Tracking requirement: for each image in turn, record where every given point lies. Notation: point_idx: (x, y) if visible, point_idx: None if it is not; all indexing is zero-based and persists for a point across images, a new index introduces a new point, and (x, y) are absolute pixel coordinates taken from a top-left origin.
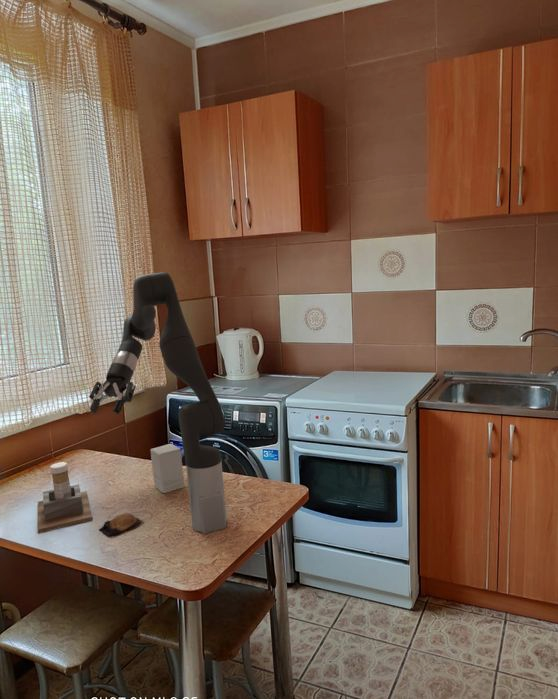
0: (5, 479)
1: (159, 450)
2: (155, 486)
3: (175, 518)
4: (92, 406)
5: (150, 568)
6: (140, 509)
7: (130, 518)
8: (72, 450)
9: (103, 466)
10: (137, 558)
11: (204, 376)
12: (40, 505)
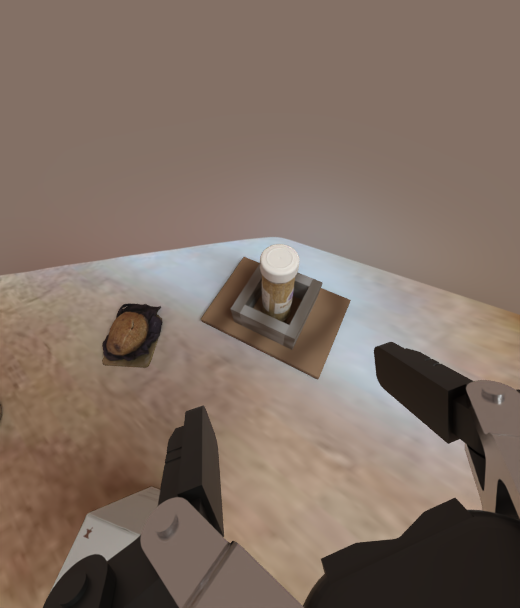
0: None
1: (111, 553)
2: None
3: (51, 407)
4: (403, 354)
5: (15, 288)
6: (148, 395)
7: (109, 337)
8: None
9: None
10: (47, 292)
11: None
12: (328, 295)
